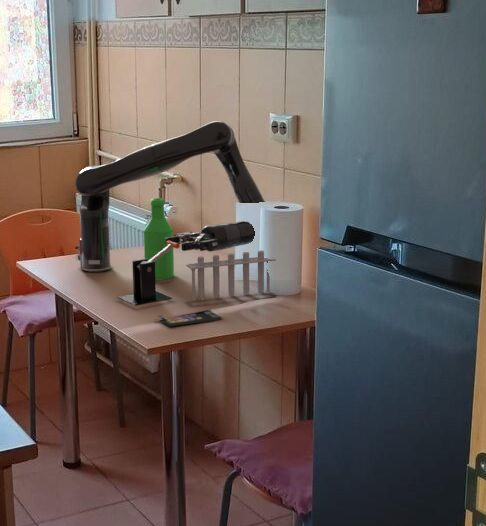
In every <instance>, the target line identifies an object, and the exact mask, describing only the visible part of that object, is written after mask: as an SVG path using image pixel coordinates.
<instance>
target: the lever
mask: <svg viewBox="0 0 486 526" xmlns="http://www.w3.org/2000/svg"><path fill="white" fill-rule="evenodd" d="M166 245H167V246H166V247H165V248H164V249H163V250H161V251H160V252H159V253H158V254H156V255H155V256H154V257H153V258H151V259H150V260H149V261H148V262H151V261H154V262H155V261H157V260H158V259H159V258H160V257H162V256H163V255H164V254H165V253H167V252H168V251H169V250H170V249H172V248H173V249H179V248H180V246H181V244H178V243H175V242H172V241H167V242H166ZM145 262H146V261H143V262H141V263H145ZM137 268H138V270H139V272H140V264H139V265H137Z"/></svg>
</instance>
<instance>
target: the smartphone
mask: <svg viewBox="0 0 486 526" xmlns="http://www.w3.org/2000/svg"><path fill="white" fill-rule="evenodd" d="M157 317H158V318H160V319H159V321H160V322H162V323H163V324H165V325H166V326H168V327H176V326H184V325H190V324H198V323H206V322H212V321H220V320H222V316H220V315H218V314H216V313H214V312H212V311H210V310H208V309H206V310H201V311H196V312H191V313H186V314H181V315H177V316H173V317H169V318H167V317H166V316H164V315H157Z"/></svg>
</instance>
